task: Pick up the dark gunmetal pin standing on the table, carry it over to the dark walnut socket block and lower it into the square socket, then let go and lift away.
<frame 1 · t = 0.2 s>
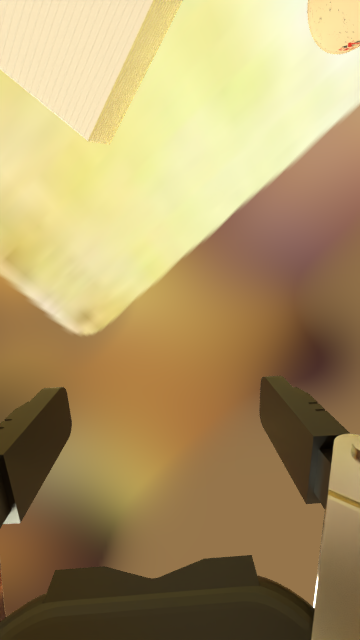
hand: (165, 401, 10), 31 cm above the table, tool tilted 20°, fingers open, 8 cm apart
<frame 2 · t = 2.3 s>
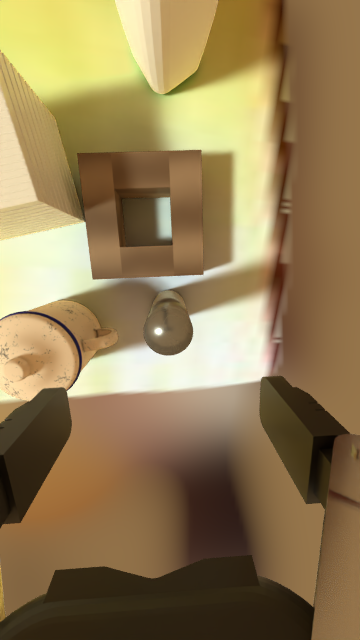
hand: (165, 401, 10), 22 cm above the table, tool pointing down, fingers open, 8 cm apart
cup: (165, 59, 25), on the table
socket block: (147, 223, 29), on the table
teacup with lid: (80, 330, 32), on the table
metal pin: (168, 305, 31), on the table
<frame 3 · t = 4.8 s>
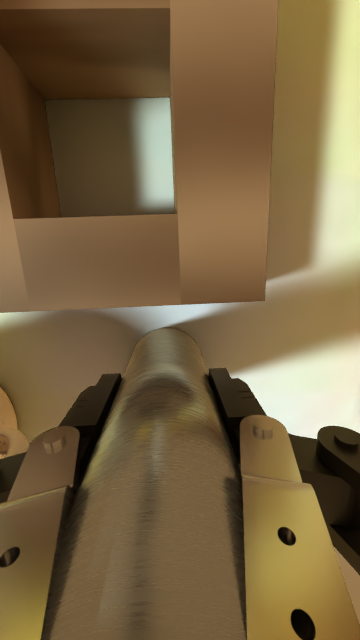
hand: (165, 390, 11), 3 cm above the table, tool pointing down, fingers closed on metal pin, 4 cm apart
socket block: (113, 168, 12), on the table
metal pin: (166, 361, 14), on the table, touching gripper
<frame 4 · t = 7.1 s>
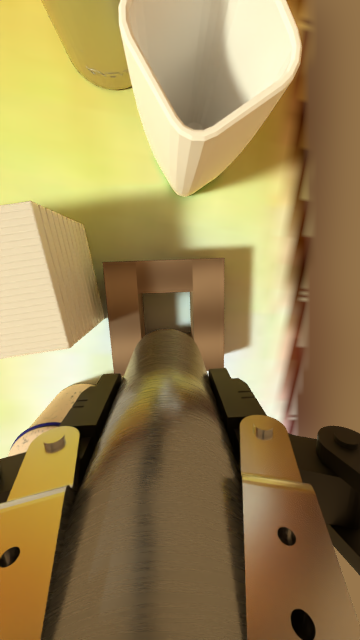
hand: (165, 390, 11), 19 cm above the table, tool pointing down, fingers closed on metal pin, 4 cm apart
cup: (188, 163, 26), on the table
socket block: (167, 311, 29), on the table
teacup with lid: (97, 409, 32), on the table
metal pin: (166, 361, 14), point 16 cm above the table, touching gripper
when the fingers open (5 cm above the table, at t = 9.4 s): metal pin drops 1 cm, resting in socket block.
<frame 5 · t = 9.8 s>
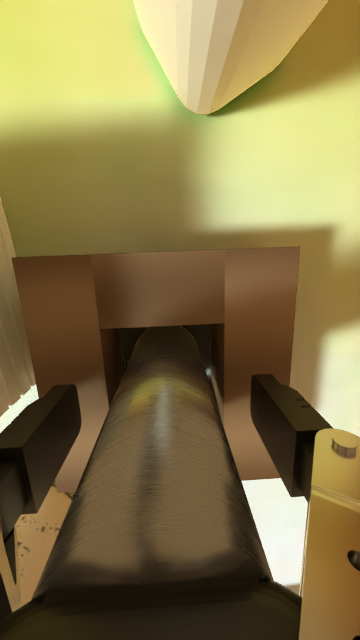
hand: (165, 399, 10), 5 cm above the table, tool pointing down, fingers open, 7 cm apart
cup: (211, 41, 12), on the table
socket block: (166, 352, 15), on the table
teacup with lid: (46, 516, 18), on the table
metal pin: (166, 352, 15), resting in socket block
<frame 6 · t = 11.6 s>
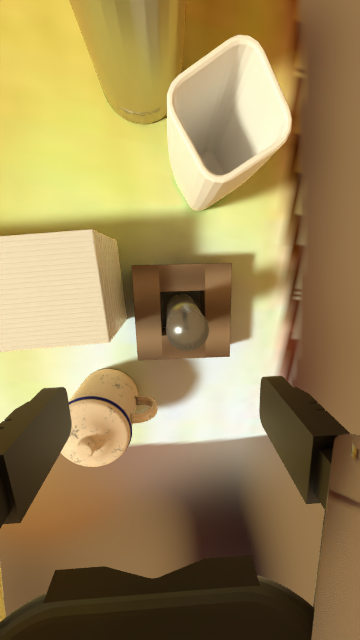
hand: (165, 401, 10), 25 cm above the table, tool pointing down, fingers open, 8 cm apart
cup: (201, 183, 31), on the table
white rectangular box: (5, 290, 33), on the table
socket block: (181, 307, 34), on the table
teacup with lid: (119, 392, 37), on the table
metal pin: (181, 308, 34), resting in socket block
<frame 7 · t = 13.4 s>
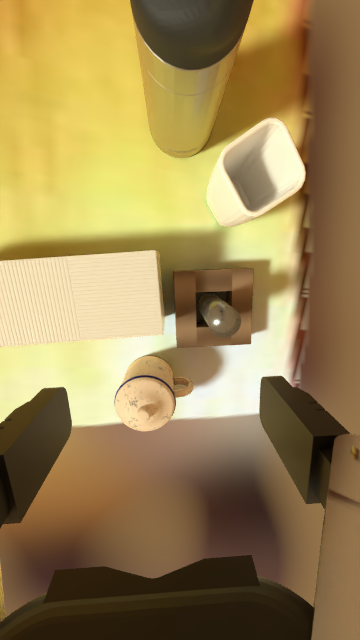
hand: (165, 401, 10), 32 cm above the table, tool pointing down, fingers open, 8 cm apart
cup: (227, 203, 38), on the table
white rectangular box: (66, 292, 41), on the table
socket block: (209, 304, 42), on the table
teacup with lid: (157, 375, 45), on the table
metal pin: (209, 305, 42), resting in socket block
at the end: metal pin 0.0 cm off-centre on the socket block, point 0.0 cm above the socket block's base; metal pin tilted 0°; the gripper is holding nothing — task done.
